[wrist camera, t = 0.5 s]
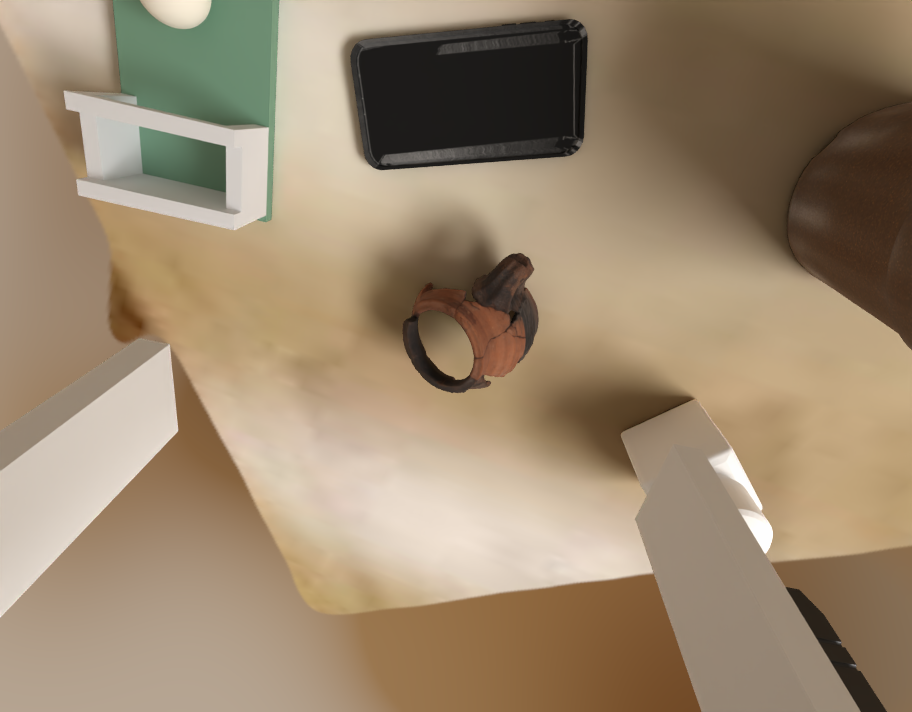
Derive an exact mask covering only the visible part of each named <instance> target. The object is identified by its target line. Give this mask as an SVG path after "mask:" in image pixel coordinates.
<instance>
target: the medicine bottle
mask: <svg viewBox="0 0 912 712" xmlns="http://www.w3.org/2000/svg"><path fill="white" fill-rule="evenodd" d="M621 438H622V440H623V443H624V445H625V448H626V450H627V453H628V455H629V458H630V460H631V463H632V465H633V468H634V470H635V473H636V475H637V478H638V480H639V483H640V485H641V487H642V489H643V490H644V492H645V493H646V495H648V493H649V491H650V489H651V487H652V485H653V483H654V481H655V479H656V477H657V475H658V473H659V471H660V469H661V467H662V465H663V463H664V461H665V459H666V457H667V455H668V453H669V452H670V450H671V448H672V446H673V444H677V445H682V446H687V447H692V448H697V449H702V451H703V452H704V454H705V456H706V457H707V459H708V461H709V462H710V464H711V466H712V467H713V469H714V470H715V472H716V474H717V475H718V477H719V479H720V480H721V482H722V484H723V485H724V487H725V489H726V490H727V492H728V494H729V495H730V497H731V498H732V500H733V502H734V503H735V505H736V507H737V508H738V510H739V512H740V513H741V515H742V517H743V518H744V520H745V522H746V523H747V525H748V527H749V528H750V530H751V531H752V533H753V535H754V536H755V538H756V540H757V541H758V543H759V545H760V546H761V548H762V550H763V551H764V553H765V554H766V552H767V551H768V549H769V547H770V544H771V542H772V537H773V532H772V528H771V525H770V523H769V522H768V521H767V519H766V518H765V516H764V515H763V513H762V512H761V510H762V505H761V503H760V501H759V499H758V497H757V495H756V493H755V491H754V489H753V487H752V485H751V483H750V481H749V479H748V477H747V476H746V474H745V472H744V470H743V468H742V466H741V464H740V462H739V460H738V458H737V456H736V454H735V452H734V450H733V448H732V447H731V446H730V444H729V443H728V441H727V440H726V439H725V437H724V436H723V435H722V433H721V432H720V430H719V429H718V428H717V426H716V425H715V423H714V422H713V421H712V419H711V418H710V416H709V415H708V414H707V412H706V411H705V409H704V408H703V407H702V405H701V404H700V402H699V401H698V400H695V399H694V400H691V401H689V402H687V403H685V404H682V405H680V406H678V407H676V408H674V409H671V410H669V411H667V412H665V413H663V414H660V415H658V416H656V417H654V418H652V419H650V420H647V421H645V422H643V423H641V424H639V425H636V426H634V427H632V428H630V429H628V430H625V431H623V432H622V433H621Z"/></svg>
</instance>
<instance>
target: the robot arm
mask: <svg viewBox="0 0 912 712" xmlns="http://www.w3.org/2000/svg"><path fill="white" fill-rule="evenodd" d="M177 425H178V424H177V415H176V404H175V395H174V384H173V374H172V364H171V354H170V344H166V343H161V342H156V341H151V340H146V339H141V338H139V339H137V340H136V341H134V342H133V343H131V344H130V345H128V346H127V347H125V348H124V349H122V350H121V351H119V352H118V353H116V354H115V355H113V356H112V357H111V358H109V359H107V360H106V361H104V362H103V363H101V364H100V365H98V366H97V367H95V368H94V369H92V370H91V371H89V372H88V373H86V374H85V375H83V376H82V377H80V378H79V379H77V380H76V381H74V382H73V383H71V384H70V385H68V386H67V387H65V388H64V389H62V390H61V391H60V392H58V393H57V394H55V395H53V396H52V397H50V398H49V399H47V400H46V401H44V402H43V403H42V404H40V405H38V406H37V407H36V408H34V409H32V410H31V411H29V412H28V413H26V414H25V415H23V416H22V417H21V418H19V419H18V420H16V421H14V422H13V423H11V424H10V425H8V426H7V427H6V428H4V429H2V430H1V431H0V617H1V616H2V615H3V614H4V613H5V612H6V611H7V610H8V609H9V608H10V607H11V606H12V605H13V604H14V603H15V601H16V600H17V599H18V598H19V597H20V596H21V595H22V594H23V593H24V592H25V591H26V590H27V589H28V588H29V587H30V586H31V585H32V584H33V583H34V582H35V580H37V578H38V577H39V576H40V575H41V574H42V573H43V572H44V571H45V570H46V569H47V568H48V567H49V566H50V565H51V564H52V563H53V562H54V561H55V560H56V558H58V556H59V555H60V554H61V553H62V552H63V551H64V550H65V549H66V548H67V547H68V546H69V545H70V544H71V543H72V542H73V541H74V540H75V539H76V538H77V537H78V535H79V534H80V533H81V532H82V531H83V530H84V529H85V528H86V527H87V526H88V525H89V524H90V523H91V522H92V521H93V520H94V519H95V518H96V517H97V515H99V514H100V512H101V511H102V510H103V509H104V508H105V507H106V506H107V505H108V504H109V503H110V502H111V501H112V500H113V499H114V498H115V497H116V496H117V495H118V494H119V493H120V491H121V490H122V489H123V488H124V487H125V486H126V485H127V484H128V483H129V482H130V481H131V480H132V479H133V478H134V477H135V476H136V474H138V473H139V472H140V471H141V469H142V468H143V467H144V466H145V465H146V464H147V463H148V462H149V461H150V460H151V459H152V458H153V457H154V456H155V455H156V454H157V453H158V452H159V451H160V449H162V447H163V446H164V445H165V444H166V443H167V442H168V441H169V440H170V439H171V438H172V437H173V436H174V435H175V434H176V433H177V432H178V426H177ZM635 520H636V523H637V526H638V529H639V531H640V534H641V537H642V540H643V543H644V546H645V549H646V552H647V555H648V558H649V560H650V563H651V566H652V569H653V572H654V575H655V578H656V581H657V584H658V586H659V589H660V592H661V595H662V598H663V601H664V604H665V607H666V610H667V613H668V616H669V618H670V621H671V624H672V627H673V630H674V633H675V636H676V638H677V642H678V644H679V647H680V650H681V653H682V656H683V659H684V662H685V665H686V667H687V671H688V673H689V676H690V679H691V682H692V685H693V688H694V691H695V693H696V697H697V699H698V702H699V705H700V708H701V711H702V712H887V711H886V710H885V708H884V707H883V705H882V704H881V702H880V700H879V699H878V697H877V696H876V694H875V693H874V691H873V690H872V688H871V687H870V685H869V684H868V682H867V680H866V679H865V677H864V676H863V674H862V673H861V671H858V670H857V669H856V664H855V662H854V660H853V659H852V657H851V656H850V654H849V653H848V651H847V650H846V648H844V647H842V646H841V640H840V639H839V637H838V636H837V634H836V633H835V631H834V630H833V628H832V627H831V625H830V623H829V622H828V620H827V619H826V617H825V616H824V614H823V613H821V611H820V610H819V609H818V608H816V606H815V605H814V604H813V603H812V602H811V601H810V600H809V599H808V598H807V597H806V596H805V595H804V594H803V593H802V592H801V591H800V590H798V589H793V588H788V587H785V586H784V584H783V583H782V581H781V579H780V578H779V576H778V575H777V573H776V571H775V569H774V568H773V566H772V564H771V563H770V561H769V560H768V558H767V556H766V555H765V553H764V551H763V550H762V548H761V546H760V545H759V543H758V541H757V540H756V538H755V536H754V535H753V533H752V531H751V530H750V528H749V527H748V525H747V523H746V522H745V520H744V518H743V517H742V515H741V513H740V512H739V510H738V508H737V507H736V505H735V503H734V502H733V500H732V498H731V497H730V495H729V494H728V492H727V490H726V489H725V487H724V485H723V484H722V482H721V480H720V479H719V477H718V475H717V474H716V472H715V470H714V469H713V467H712V466H711V464H710V462H709V461H708V459H707V457H706V456H705V454H704V452H703V451H702V449H697V448H692V447H687V446H682V445H677V444H673V446H672V448H671V450H670V452H669V453H668V455H667V457H666V459H665V461H664V463H663V465H662V467H661V469H660V471H659V473H658V475H657V477H656V479H655V481H654V483H653V485H652V487H651V489H650V491H649V493H648V495H647V497H646V499H645V501H644V503H643V505H642V507H641V508H640V510H639V512H638V514H637V516H636V518H635Z"/></svg>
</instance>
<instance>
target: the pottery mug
mask: <svg viewBox="0 0 912 712" xmlns="http://www.w3.org/2000/svg"><path fill="white" fill-rule="evenodd" d="M533 271H534V268H533V266H532V264H531V261H530V259H529V258H528V257H525V256H524V255H523V254H522V253H518V254H511V255H509V256H508V257H506V258H505V259H503V260H502V261H501V262H500V263H499V264H498V265H497V266H496V268H495V269H494V270H493V271H492V272H491V273H489V274H488V275H483V276H482V277H480V278H478V279H476V281H475V283H474V286H473V288H472V295H473V298H474V299H475V300H476V301H475V302H473V301H471V302H470V301H467V300H465V299H466V291H464V290H457V289H447V288H444V289H434V290H432V288H433V285H432V283H429V284H426V285H425V287H424V288H423V289H422V290H421V291H420V293H419V294H418V296H417V299H416V301H415V304H414V306H413V307H414V308H413V311H412V316H411V318H408V319H406V320H405V321H404V323H403V341H404V345H405V349H406V352H407V354H408V356H409V358H410V359H411V362H412V364H413V365H414V367H415V369H416V370H417V371H418V372H419V373H420V375H421V376H422V377H423V378H424V379H425V380H426V381H428V382H429V383H430V384H431V385H433V386H435V387H436V388H438V389H441V390H444V391H447V392H451V393H453V392H454V393H462V392H463V393H464V392H466V390H468V389H477V388H478V389H481V388H485V387H488V386H489V385H490V384H491V382H490V381H486V380H485V379H484V375H488V376H495V377H504V376H505V375H506V374H507V373H509V372H511V371H512V370H513V369H514V367H515V366H516V364H517V363H519V362H520V361H521V360H523V358H524V357H525V355H526V354H527V352H528V351H529V349H530V347H531V346H532V344H533V340H534V337H535V334H536V332H537V328H538V310H537V306H536V303H535V301H534V299H533V297H532V295H531V294H530V292H529V291H528V289H527V288H525V289H524V285H525V281H526V280H527V279H528V278H529V277H530V275H531V274H532V272H533ZM428 310H437V311H441V312H443V313H445V314H447V315H449V316H451V317H453V318H455V320H456V321H457V322H458V323H459V324H460V325H461V326H462V328H463V329H464V331H465V332H466V334H467V336H468V338H469V340H470V342H471V345H472V349H473V354H474V364H473V368H472V371H471V373H470V375H469V376H468V377H467V378H465V379H462V380H455V378H454V377H452V376H448V375H446V374H444V373H443V372H442V371H440V370H439V369H438V368H437V367H436V366H435V364H434V363H433V362H432V361H431V360H430V358H428V356H427V355H426V351H425V349H424V346H423V344H422V342H421V340H420V336H419V333H418V318H419V315H420V314H421V313H423V312H425V311H428ZM511 310H513V311H514V312H515V314H514V316H513V318H512V320H511V322H510V315H509V312H510V311H511Z"/></svg>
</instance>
